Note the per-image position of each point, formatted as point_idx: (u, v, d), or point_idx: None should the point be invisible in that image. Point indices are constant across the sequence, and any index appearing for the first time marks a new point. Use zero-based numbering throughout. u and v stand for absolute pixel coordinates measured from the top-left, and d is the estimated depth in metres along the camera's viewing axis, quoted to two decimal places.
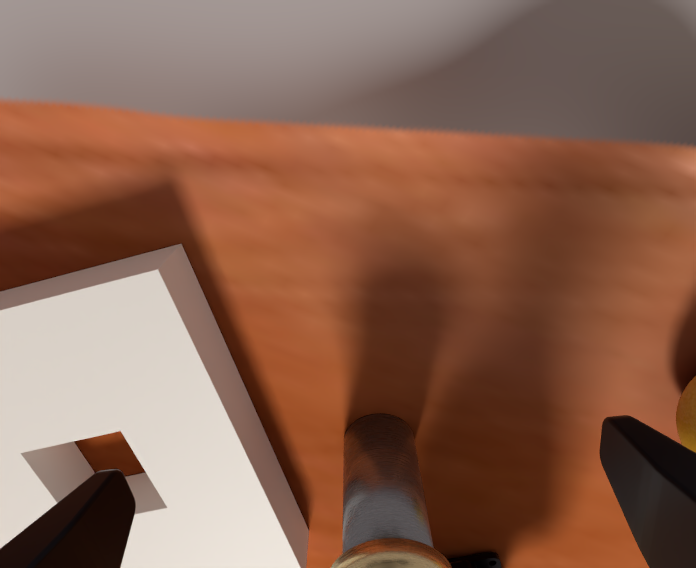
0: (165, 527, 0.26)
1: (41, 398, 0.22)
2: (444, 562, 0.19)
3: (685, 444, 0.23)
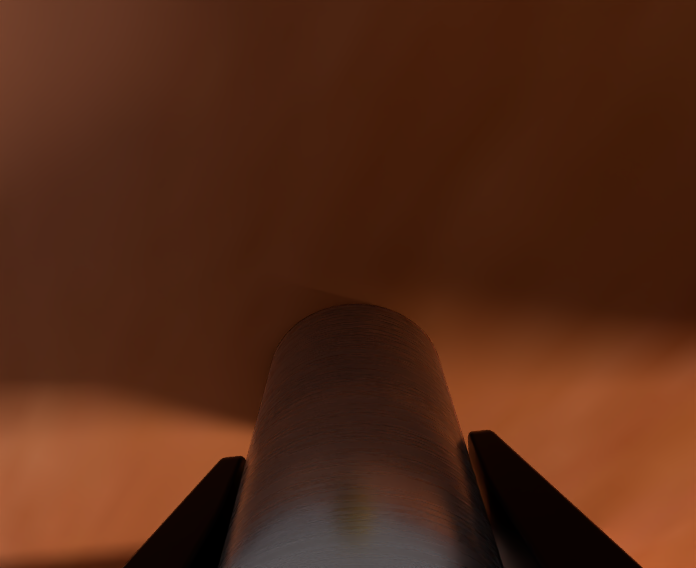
0: None
1: None
2: None
3: None
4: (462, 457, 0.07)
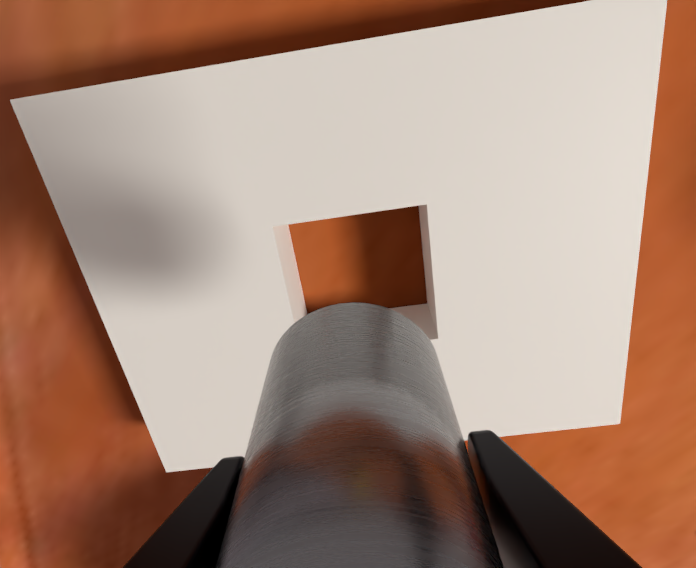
0: (467, 218, 0.16)
1: (217, 303, 0.18)
2: None
3: None
4: (461, 455, 0.07)
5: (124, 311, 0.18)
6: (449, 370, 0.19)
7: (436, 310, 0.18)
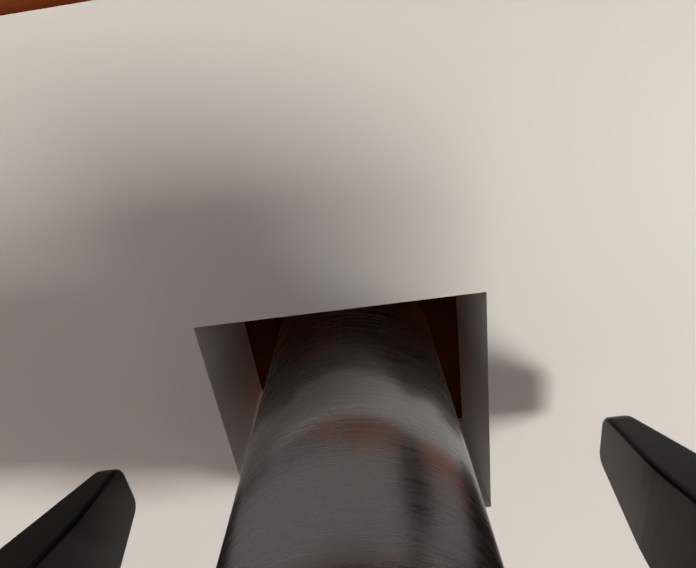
0: (561, 318, 0.09)
1: (103, 451, 0.10)
2: None
3: None
4: (444, 395, 0.09)
5: None
6: (505, 551, 0.11)
7: (490, 464, 0.10)
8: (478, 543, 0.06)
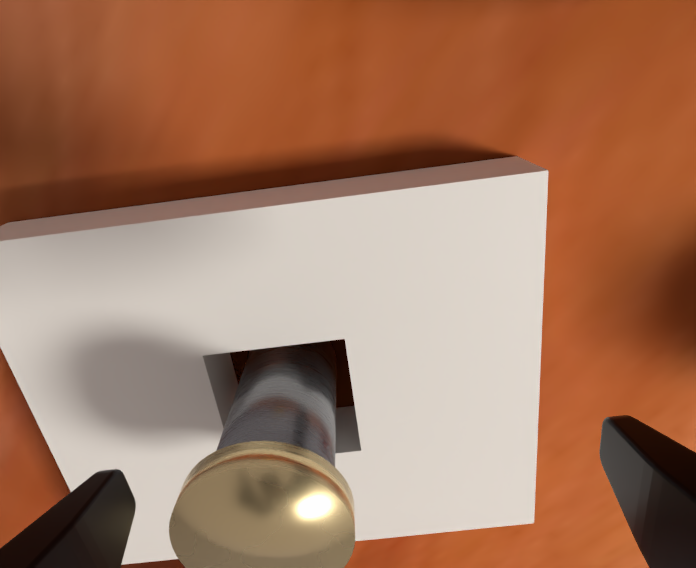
0: (382, 351, 0.18)
1: (152, 419, 0.19)
2: (213, 459, 0.13)
3: None
4: (324, 388, 0.18)
5: (63, 426, 0.19)
6: (372, 477, 0.20)
7: (358, 426, 0.19)
8: (316, 443, 0.15)
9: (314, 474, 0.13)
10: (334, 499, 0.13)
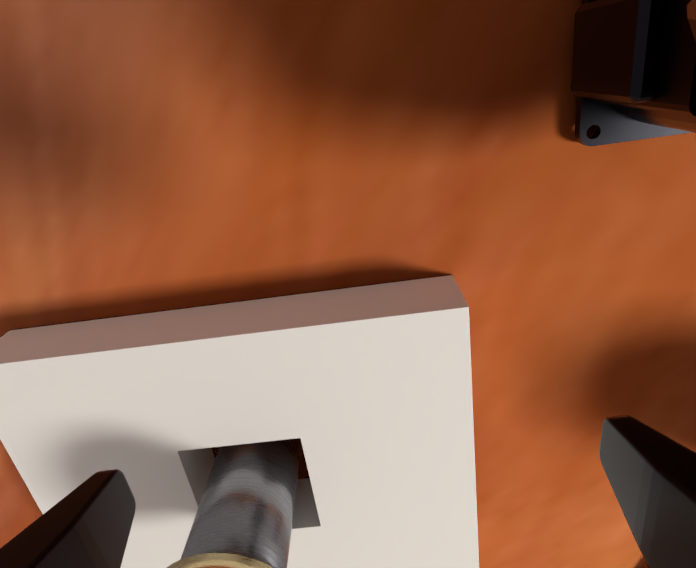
0: (334, 447, 0.20)
1: (136, 501, 0.22)
2: None
3: None
4: (283, 481, 0.20)
5: None
6: (332, 547, 0.23)
7: (317, 506, 0.22)
8: (267, 544, 0.17)
9: None
10: None
